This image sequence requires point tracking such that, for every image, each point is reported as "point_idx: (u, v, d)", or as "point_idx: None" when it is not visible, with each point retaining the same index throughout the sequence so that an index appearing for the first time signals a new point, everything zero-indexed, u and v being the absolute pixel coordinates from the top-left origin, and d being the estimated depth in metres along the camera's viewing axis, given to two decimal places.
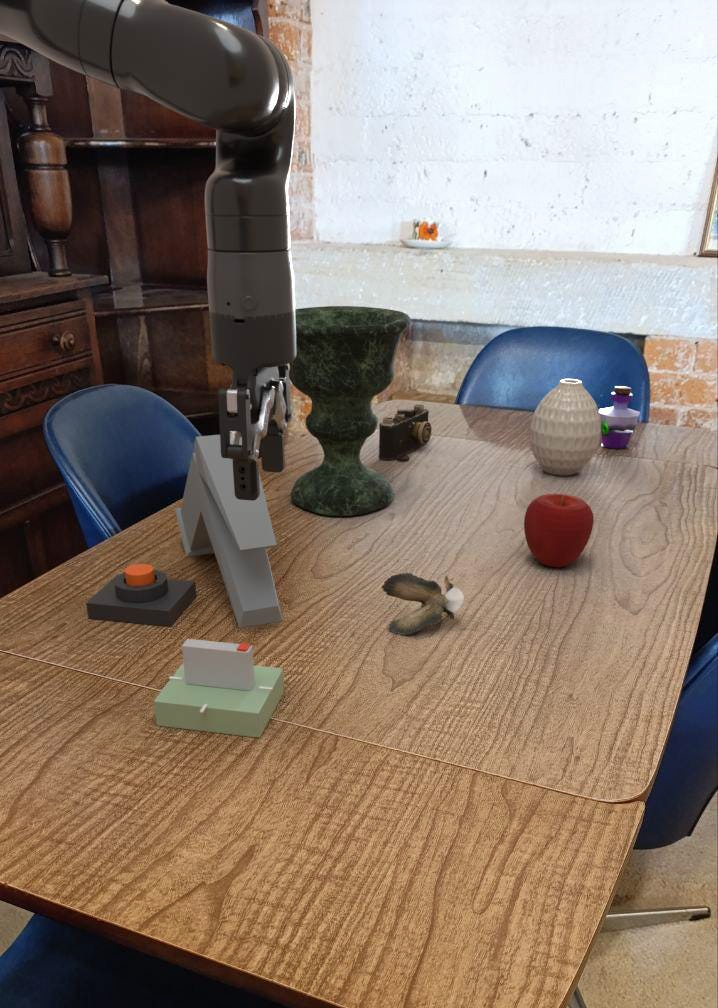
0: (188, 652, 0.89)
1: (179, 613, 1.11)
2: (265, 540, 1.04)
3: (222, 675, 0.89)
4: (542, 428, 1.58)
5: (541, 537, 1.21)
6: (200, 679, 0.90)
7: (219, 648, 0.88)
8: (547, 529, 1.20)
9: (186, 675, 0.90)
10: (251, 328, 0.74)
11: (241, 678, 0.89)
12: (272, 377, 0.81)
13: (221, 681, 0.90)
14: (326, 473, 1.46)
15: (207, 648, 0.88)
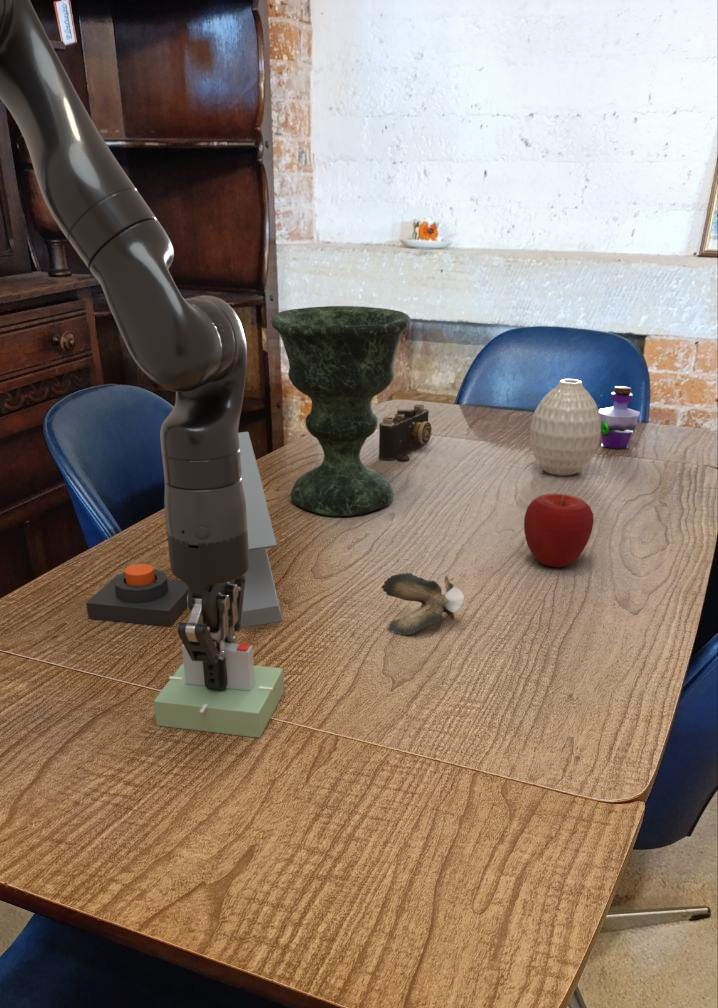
0: None
1: (179, 613, 1.11)
2: (265, 540, 1.04)
3: None
4: (542, 428, 1.58)
5: (541, 537, 1.21)
6: (200, 679, 0.90)
7: None
8: (547, 529, 1.20)
9: (186, 675, 0.90)
10: (204, 553, 0.80)
11: (241, 678, 0.89)
12: None
13: None
14: (326, 473, 1.46)
15: None
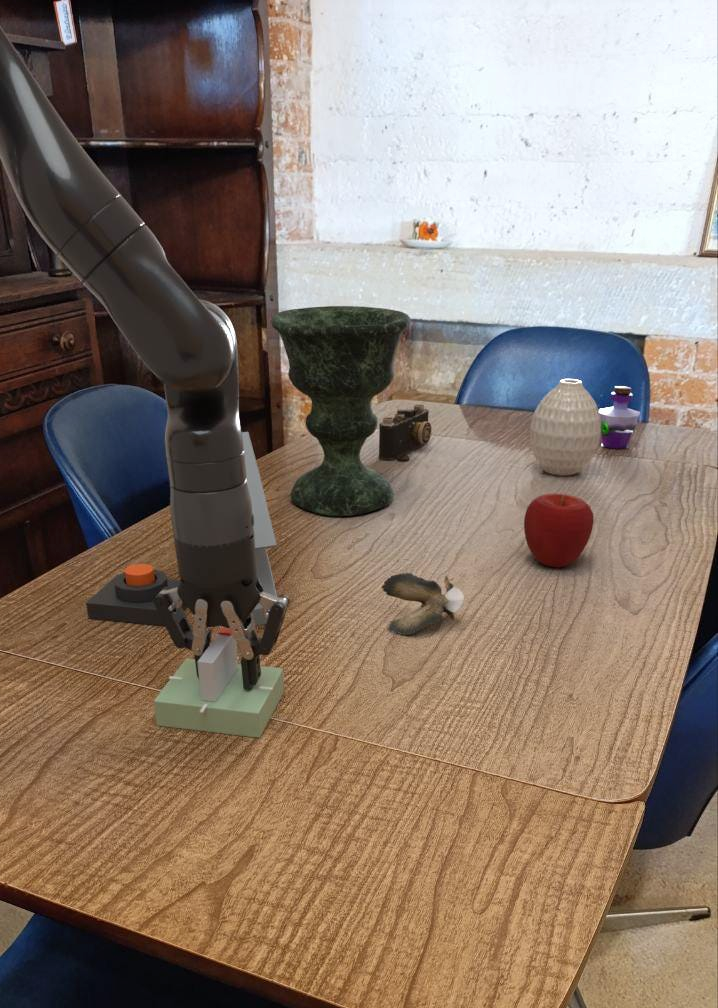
0: (215, 665, 0.86)
1: None
2: (265, 540, 1.04)
3: (228, 668, 0.90)
4: (542, 428, 1.58)
5: (541, 537, 1.21)
6: (221, 687, 0.89)
7: (223, 644, 0.89)
8: (547, 529, 1.20)
9: (216, 692, 0.87)
10: None
11: (235, 660, 0.92)
12: None
13: (228, 675, 0.91)
14: (326, 473, 1.46)
15: (221, 650, 0.88)
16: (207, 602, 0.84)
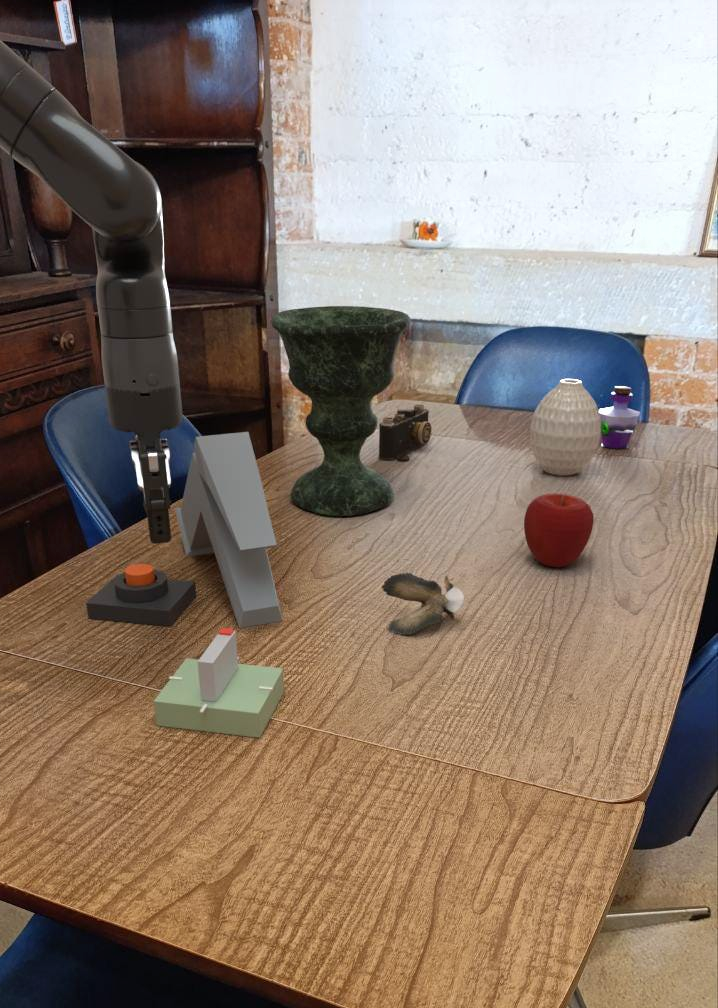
0: (215, 665, 0.86)
1: (179, 613, 1.11)
2: (265, 540, 1.04)
3: (228, 668, 0.90)
4: (542, 428, 1.58)
5: (541, 537, 1.21)
6: (221, 687, 0.89)
7: (223, 644, 0.89)
8: (547, 529, 1.20)
9: (216, 692, 0.87)
10: (155, 399, 0.88)
11: (235, 660, 0.92)
12: None
13: (228, 675, 0.91)
14: (326, 473, 1.46)
15: (221, 650, 0.88)
16: None
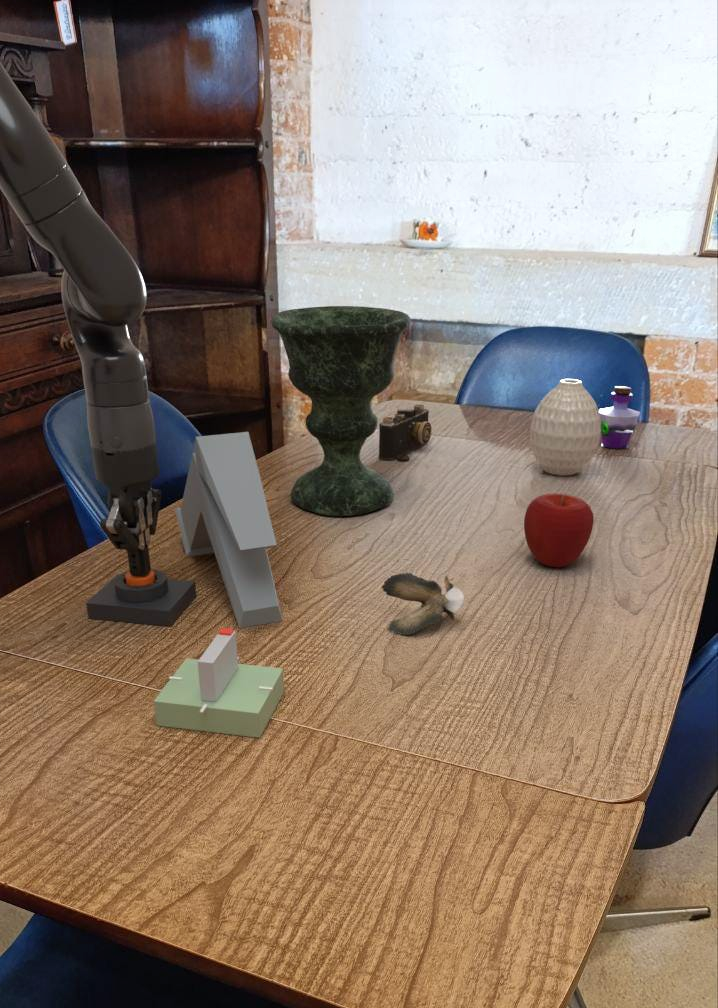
0: (215, 665, 0.86)
1: (179, 613, 1.11)
2: (265, 540, 1.04)
3: (228, 668, 0.90)
4: (542, 428, 1.58)
5: (541, 537, 1.21)
6: (221, 687, 0.89)
7: (223, 644, 0.89)
8: (547, 529, 1.20)
9: (216, 692, 0.87)
10: (119, 459, 1.00)
11: (235, 660, 0.92)
12: (143, 488, 1.07)
13: (228, 675, 0.91)
14: (326, 473, 1.46)
15: (221, 650, 0.88)
16: None
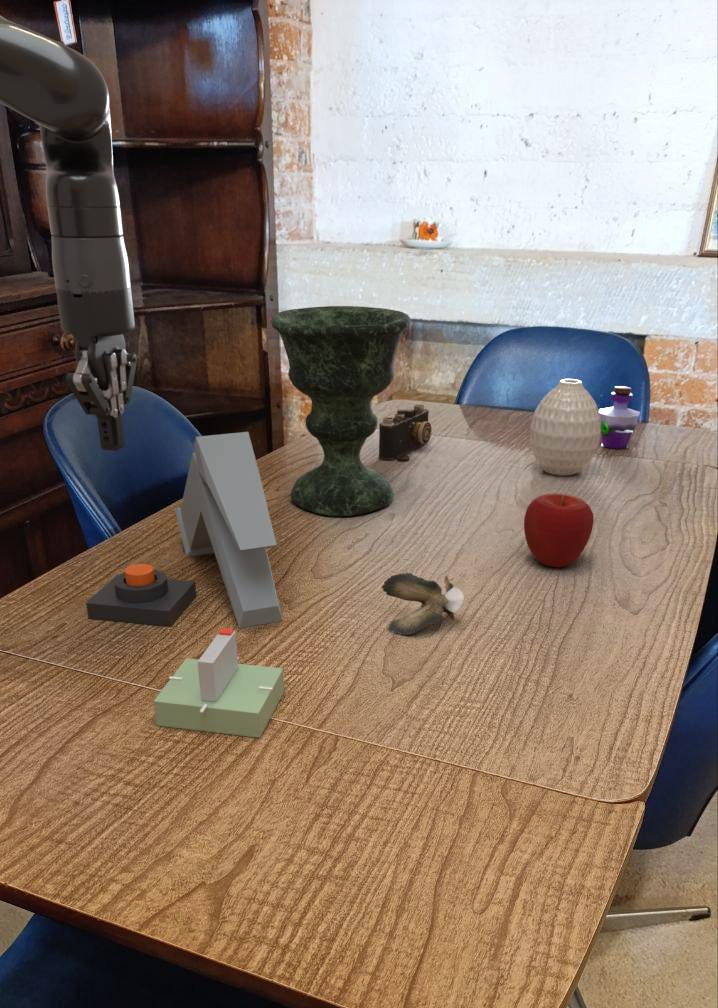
0: (215, 665, 0.86)
1: (179, 613, 1.11)
2: (265, 540, 1.04)
3: (228, 668, 0.90)
4: (542, 428, 1.58)
5: (541, 537, 1.21)
6: (221, 687, 0.89)
7: (223, 644, 0.89)
8: (547, 529, 1.20)
9: (216, 692, 0.87)
10: (88, 302, 0.88)
11: (235, 660, 0.92)
12: (117, 346, 0.95)
13: (228, 675, 0.91)
14: (326, 473, 1.46)
15: (221, 650, 0.88)
16: None
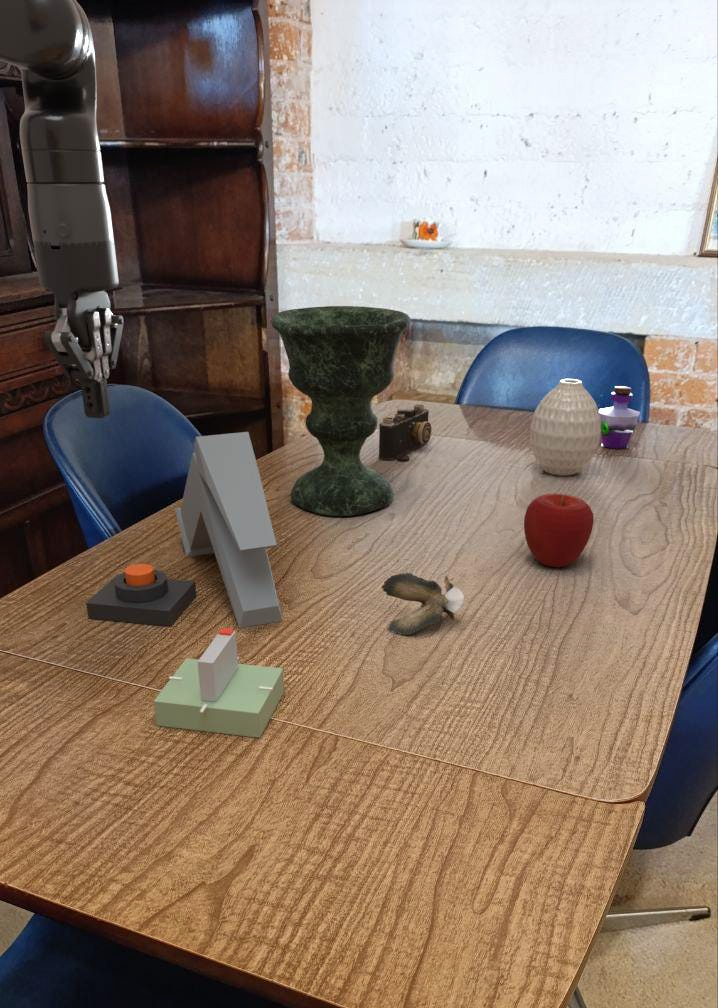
0: (215, 665, 0.86)
1: (179, 613, 1.11)
2: (265, 540, 1.04)
3: (228, 668, 0.90)
4: (542, 428, 1.58)
5: (541, 537, 1.21)
6: (221, 687, 0.89)
7: (223, 644, 0.89)
8: (547, 529, 1.20)
9: (216, 692, 0.87)
10: (66, 254, 0.82)
11: (235, 660, 0.92)
12: (100, 305, 0.89)
13: (228, 675, 0.91)
14: (326, 473, 1.46)
15: (221, 650, 0.88)
16: None
